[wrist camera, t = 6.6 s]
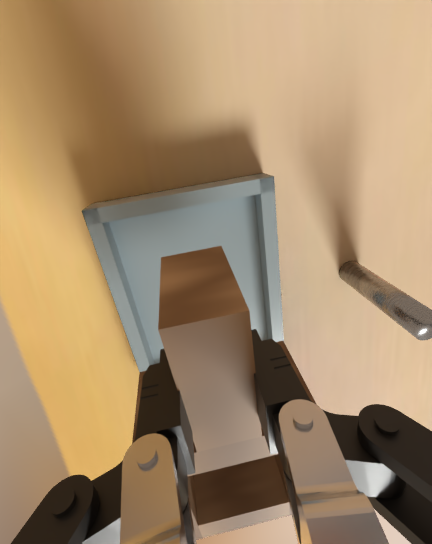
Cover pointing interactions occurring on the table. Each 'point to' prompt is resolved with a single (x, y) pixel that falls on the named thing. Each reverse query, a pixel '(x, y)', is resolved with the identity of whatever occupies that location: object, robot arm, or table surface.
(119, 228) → the tray
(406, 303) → the peg
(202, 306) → the collar
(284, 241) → the table surface
